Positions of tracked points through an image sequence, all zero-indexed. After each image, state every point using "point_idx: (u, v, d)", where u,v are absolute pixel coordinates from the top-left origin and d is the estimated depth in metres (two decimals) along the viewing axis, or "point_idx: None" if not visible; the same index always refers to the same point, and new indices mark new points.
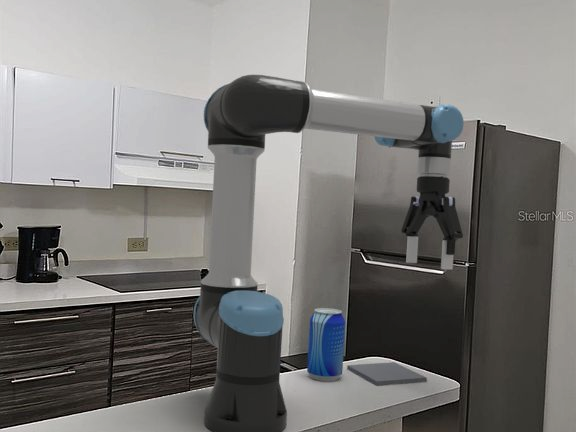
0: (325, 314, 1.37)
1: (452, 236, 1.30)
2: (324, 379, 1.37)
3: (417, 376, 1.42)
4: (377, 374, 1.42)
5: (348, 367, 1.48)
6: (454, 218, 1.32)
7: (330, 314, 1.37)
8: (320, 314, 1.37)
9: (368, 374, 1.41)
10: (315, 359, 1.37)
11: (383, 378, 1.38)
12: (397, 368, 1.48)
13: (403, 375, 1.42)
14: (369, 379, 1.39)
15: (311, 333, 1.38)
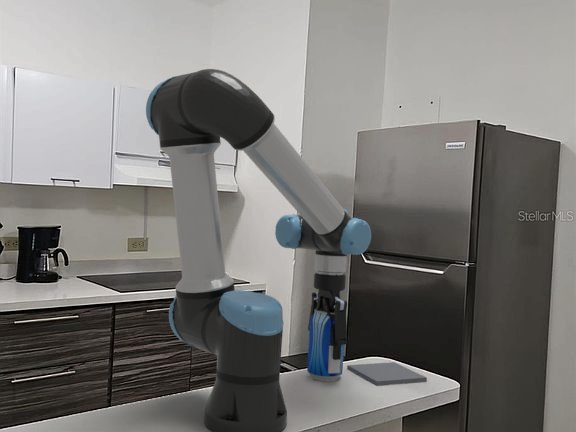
0: (325, 314, 1.37)
1: (336, 343, 1.33)
2: (324, 379, 1.37)
3: (417, 376, 1.42)
4: (377, 374, 1.42)
5: (348, 367, 1.48)
6: (342, 324, 1.34)
7: None
8: (320, 314, 1.37)
9: (368, 374, 1.41)
10: (315, 359, 1.37)
11: (383, 378, 1.38)
12: (397, 368, 1.48)
13: (403, 375, 1.42)
14: (369, 379, 1.39)
15: (311, 333, 1.38)
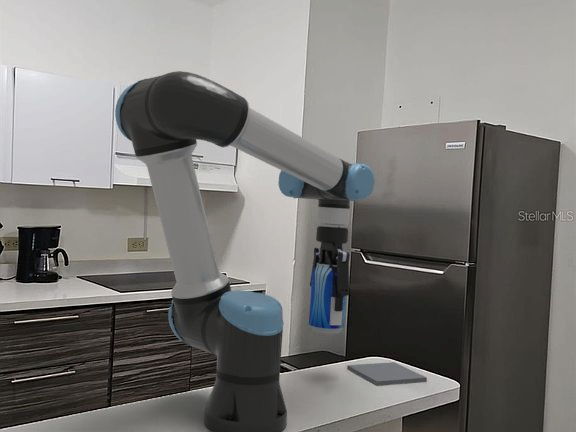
0: (327, 266, 1.37)
1: (338, 294, 1.33)
2: (326, 331, 1.36)
3: (417, 376, 1.42)
4: (377, 374, 1.42)
5: (348, 367, 1.48)
6: (344, 275, 1.33)
7: None
8: (322, 267, 1.37)
9: (368, 374, 1.41)
10: (317, 311, 1.36)
11: (383, 378, 1.38)
12: (397, 368, 1.48)
13: (403, 375, 1.42)
14: (369, 379, 1.39)
15: (313, 286, 1.38)
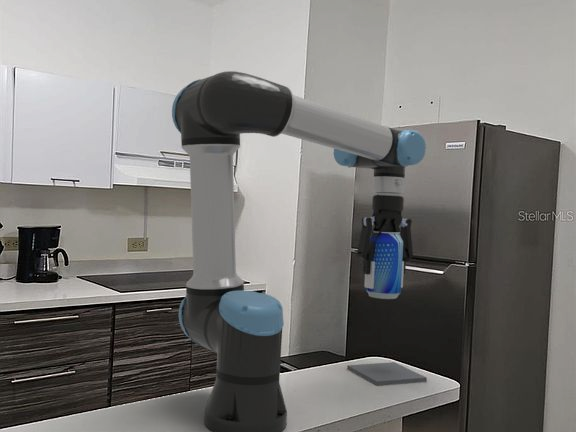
0: None
1: None
2: None
3: (417, 376, 1.42)
4: (377, 374, 1.42)
5: (348, 367, 1.48)
6: (362, 239, 1.40)
7: None
8: None
9: (368, 374, 1.41)
10: None
11: (383, 378, 1.38)
12: (397, 368, 1.48)
13: (403, 375, 1.42)
14: (369, 379, 1.39)
15: None
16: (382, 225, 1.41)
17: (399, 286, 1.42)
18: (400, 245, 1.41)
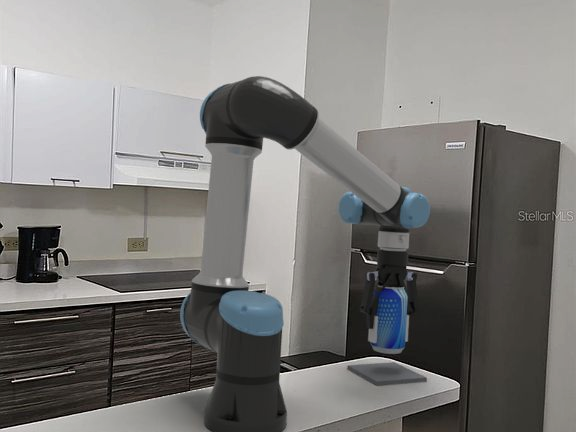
0: None
1: None
2: None
3: (417, 376, 1.42)
4: (377, 374, 1.42)
5: (348, 367, 1.48)
6: (366, 294, 1.42)
7: (378, 286, 1.44)
8: None
9: (368, 374, 1.41)
10: None
11: (383, 378, 1.38)
12: (397, 368, 1.48)
13: (403, 375, 1.42)
14: (369, 379, 1.39)
15: None
16: (386, 280, 1.42)
17: (403, 341, 1.42)
18: (404, 300, 1.42)
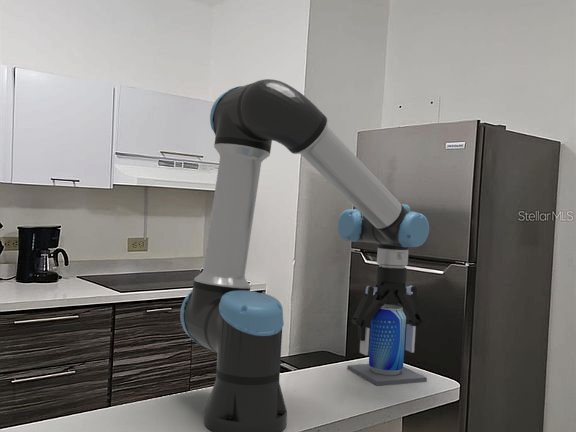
0: None
1: None
2: None
3: (417, 376, 1.42)
4: (377, 374, 1.42)
5: (348, 367, 1.48)
6: (361, 306, 1.41)
7: None
8: None
9: (368, 374, 1.41)
10: None
11: (383, 378, 1.38)
12: None
13: (403, 375, 1.42)
14: (369, 379, 1.39)
15: None
16: (384, 296, 1.42)
17: (401, 362, 1.42)
18: (402, 321, 1.41)
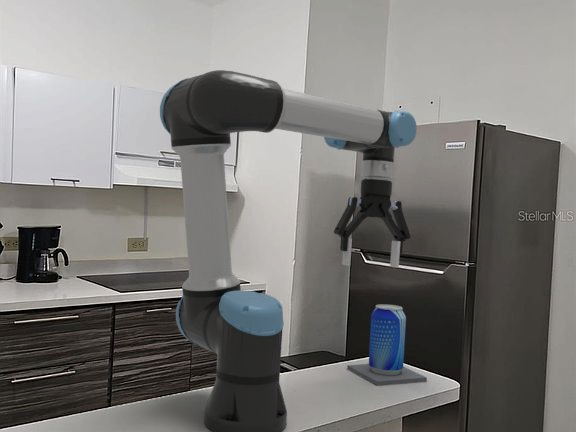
0: None
1: None
2: None
3: (417, 376, 1.42)
4: (377, 374, 1.42)
5: (348, 367, 1.48)
6: (344, 216, 1.40)
7: (376, 307, 1.44)
8: None
9: (368, 374, 1.41)
10: None
11: (383, 378, 1.38)
12: None
13: (403, 375, 1.42)
14: (369, 379, 1.39)
15: None
16: (368, 207, 1.41)
17: (401, 362, 1.42)
18: (402, 321, 1.42)
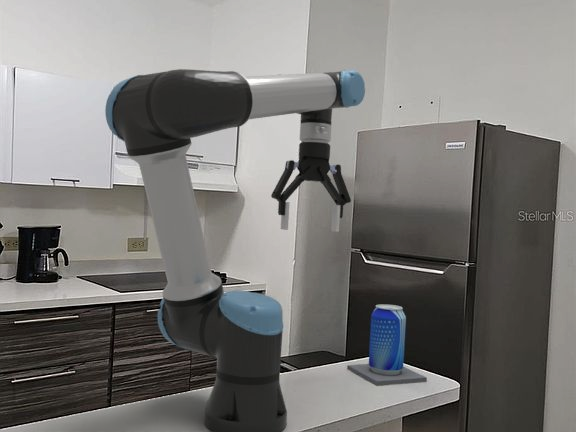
0: None
1: None
2: None
3: (417, 376, 1.42)
4: (377, 374, 1.42)
5: (348, 367, 1.48)
6: (281, 180, 1.38)
7: (376, 307, 1.44)
8: None
9: (368, 374, 1.41)
10: None
11: (383, 378, 1.38)
12: None
13: (403, 375, 1.42)
14: (369, 379, 1.39)
15: None
16: (305, 171, 1.39)
17: (401, 362, 1.42)
18: (402, 321, 1.42)
